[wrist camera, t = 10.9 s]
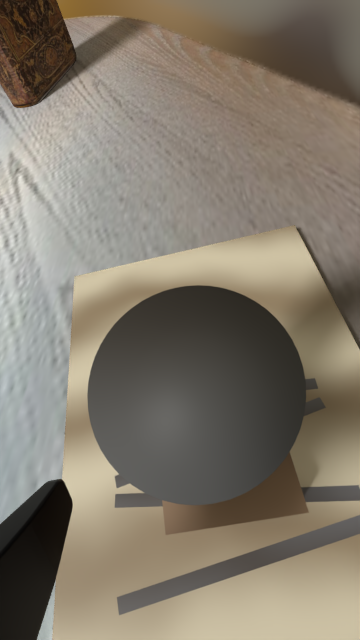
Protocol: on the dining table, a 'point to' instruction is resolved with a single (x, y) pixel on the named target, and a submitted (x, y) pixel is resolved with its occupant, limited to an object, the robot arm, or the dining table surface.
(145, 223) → the dining table surface
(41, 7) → the book
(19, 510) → the robot arm
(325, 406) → the birch board
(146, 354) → the grey post on base
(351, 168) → the dining table surface
